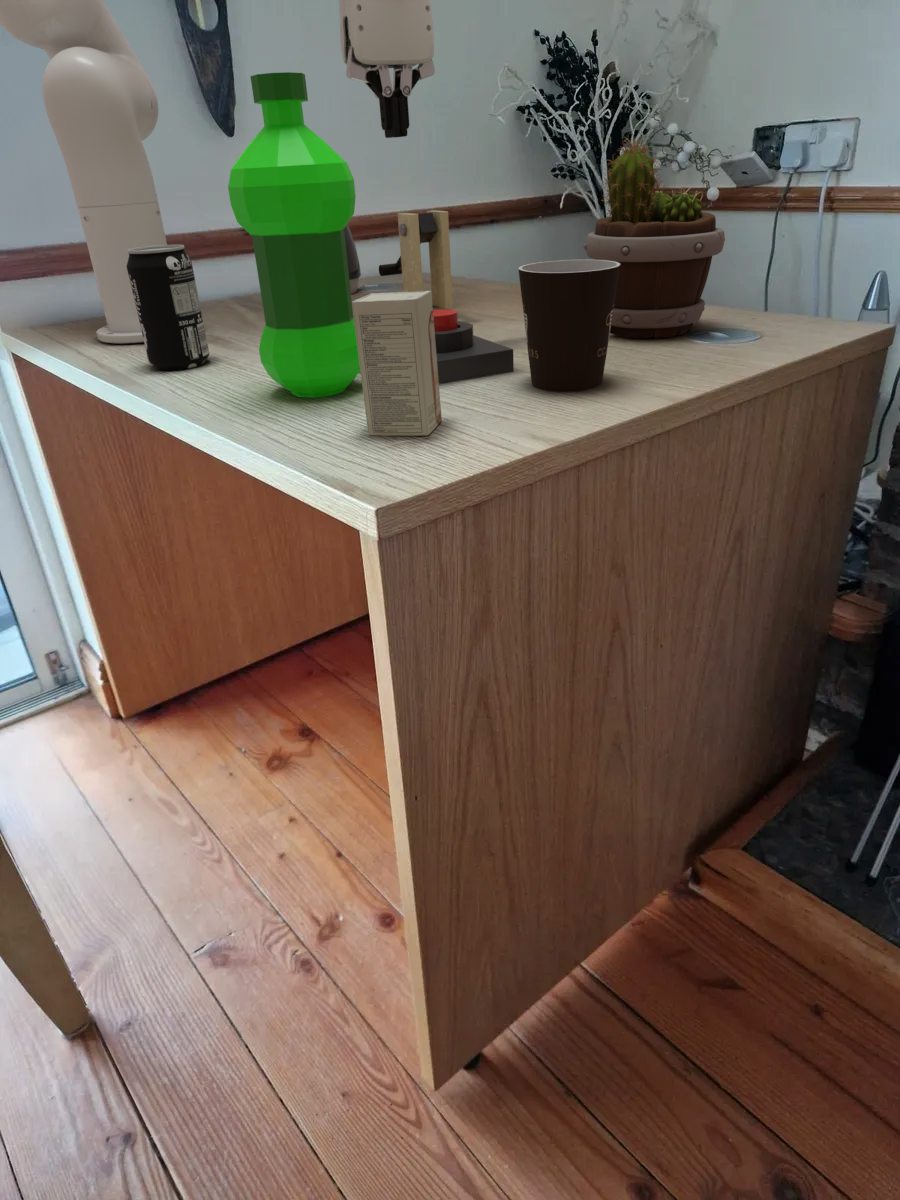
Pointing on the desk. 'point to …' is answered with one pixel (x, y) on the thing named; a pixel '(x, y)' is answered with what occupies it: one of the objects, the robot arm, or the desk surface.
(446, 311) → the button
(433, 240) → the lever bracket
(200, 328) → the beverage can
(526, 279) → the coffee mug
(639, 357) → the desk surface
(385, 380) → the medicine carton
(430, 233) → the lever
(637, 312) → the flowerpot
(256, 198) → the plastic bottle
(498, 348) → the control block
